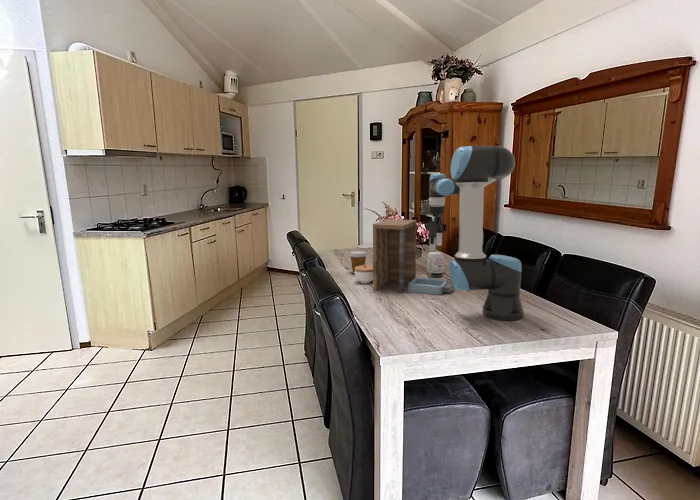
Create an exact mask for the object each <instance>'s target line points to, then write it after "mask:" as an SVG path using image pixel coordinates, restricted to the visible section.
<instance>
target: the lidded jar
mask: <svg viewBox="0 0 700 500" xmlns="http://www.w3.org/2000/svg"><path fill="white" fill-rule="evenodd" d="M354 276H355V278H356V280H357V281H358V283H359V282H362V283H363V284H369V282H370V283H371V282H373V265H368V264H366V263H365V264H364V265H361V266H356V267H355V274H354ZM362 283H361V284H362Z"/></svg>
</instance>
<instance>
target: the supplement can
mask: <svg viewBox="0 0 700 500" xmlns="http://www.w3.org/2000/svg"><path fill="white" fill-rule="evenodd" d="M444 266H445V255H444V253H443V252H441V251H429V252H428V253H427V269H426V274H427V275H426V276H427V277H426V278H427V279H437V280H444V279H445V278H444V272H445V271H444V270H445V269H444Z"/></svg>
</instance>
